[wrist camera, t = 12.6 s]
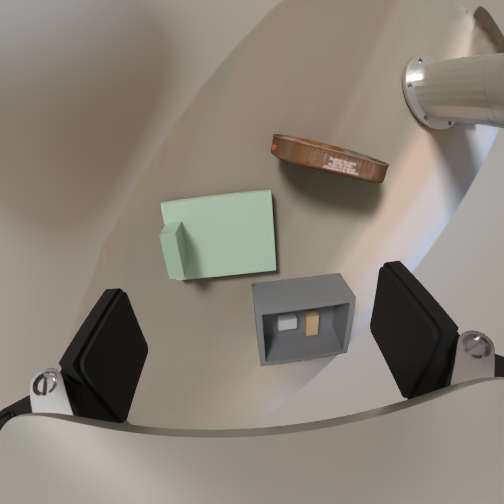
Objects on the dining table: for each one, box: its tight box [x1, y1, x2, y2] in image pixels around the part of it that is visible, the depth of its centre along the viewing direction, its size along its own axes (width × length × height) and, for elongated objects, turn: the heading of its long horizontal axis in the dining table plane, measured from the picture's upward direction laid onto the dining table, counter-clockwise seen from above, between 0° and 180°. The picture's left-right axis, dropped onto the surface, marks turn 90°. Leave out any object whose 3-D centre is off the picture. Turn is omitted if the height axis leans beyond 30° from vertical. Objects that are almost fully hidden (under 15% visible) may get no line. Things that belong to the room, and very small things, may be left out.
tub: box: [252, 273, 356, 366], centre depth 42 cm, size 14×11×7 cm
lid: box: [159, 190, 276, 280], centre depth 36 cm, size 14×11×7 cm
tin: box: [271, 134, 389, 183], centre depth 32 cm, size 15×3×8 cm, turn 80°
